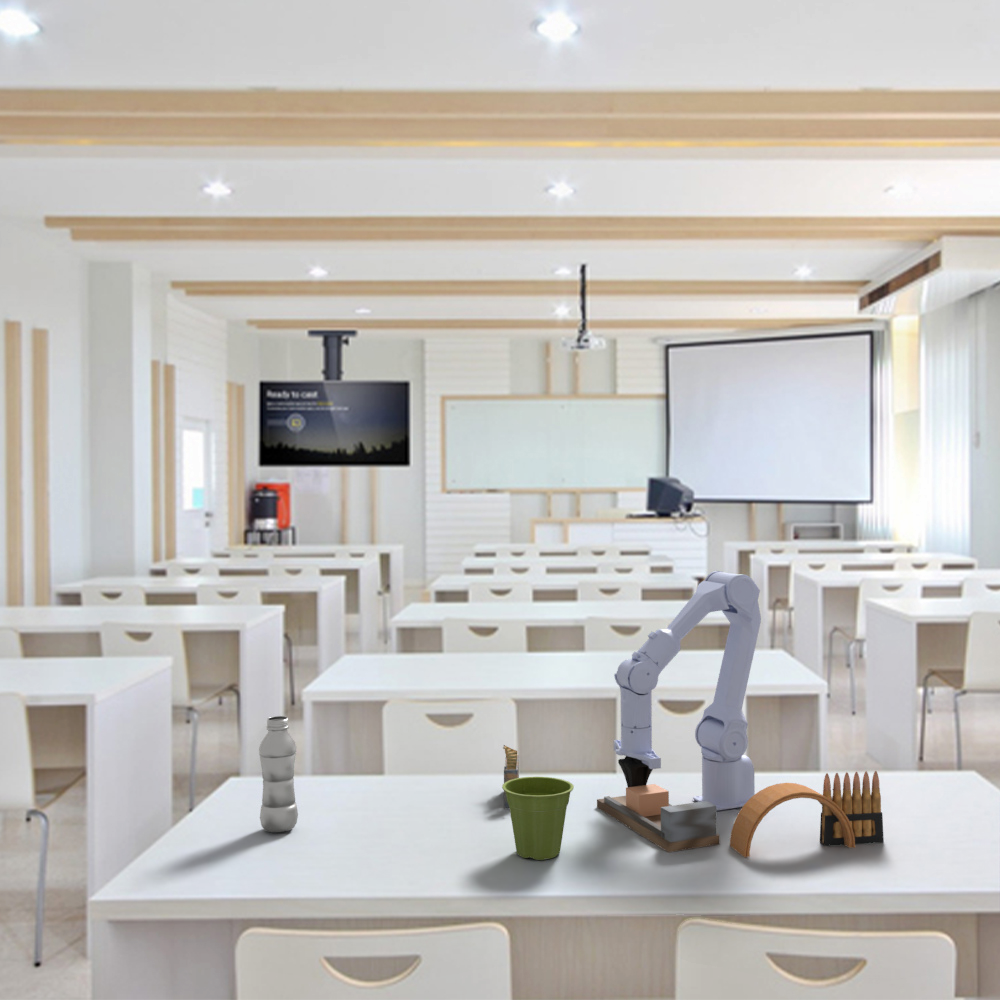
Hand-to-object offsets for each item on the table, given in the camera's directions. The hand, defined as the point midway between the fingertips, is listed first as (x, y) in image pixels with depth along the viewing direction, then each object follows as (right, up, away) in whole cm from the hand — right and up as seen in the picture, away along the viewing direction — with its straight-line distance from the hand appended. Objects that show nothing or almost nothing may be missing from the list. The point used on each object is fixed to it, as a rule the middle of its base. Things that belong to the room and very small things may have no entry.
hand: (636, 798), depth 190 cm
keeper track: (+2, -3, -6) cm, 7 cm away
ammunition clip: (+34, -3, -16) cm, 38 cm away
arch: (+24, -3, -18) cm, 30 cm away
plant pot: (-19, -4, -20) cm, 28 cm away
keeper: (+1, -1, -4) cm, 4 cm away
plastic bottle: (-65, -4, -8) cm, 65 cm away
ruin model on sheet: (-23, -4, +10) cm, 25 cm away
